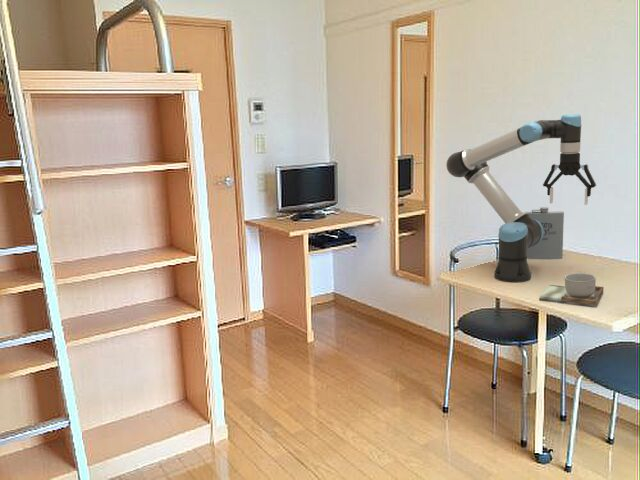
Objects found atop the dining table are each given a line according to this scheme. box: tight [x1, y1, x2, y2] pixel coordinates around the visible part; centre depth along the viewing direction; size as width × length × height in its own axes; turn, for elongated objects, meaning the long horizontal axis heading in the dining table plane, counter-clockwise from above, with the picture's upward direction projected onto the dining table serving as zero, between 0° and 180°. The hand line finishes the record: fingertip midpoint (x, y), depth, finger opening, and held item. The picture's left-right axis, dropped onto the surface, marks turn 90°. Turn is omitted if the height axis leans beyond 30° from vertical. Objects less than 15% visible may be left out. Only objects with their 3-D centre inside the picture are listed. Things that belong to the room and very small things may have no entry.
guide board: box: [538, 284, 604, 308], centre depth 221 cm, size 20×18×2 cm
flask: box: [524, 206, 565, 260], centre depth 272 cm, size 17×5×25 cm, turn 74°
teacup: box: [564, 271, 597, 299], centre depth 219 cm, size 14×11×8 cm
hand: (568, 203), depth 239 cm, fingers open, 13 cm apart
